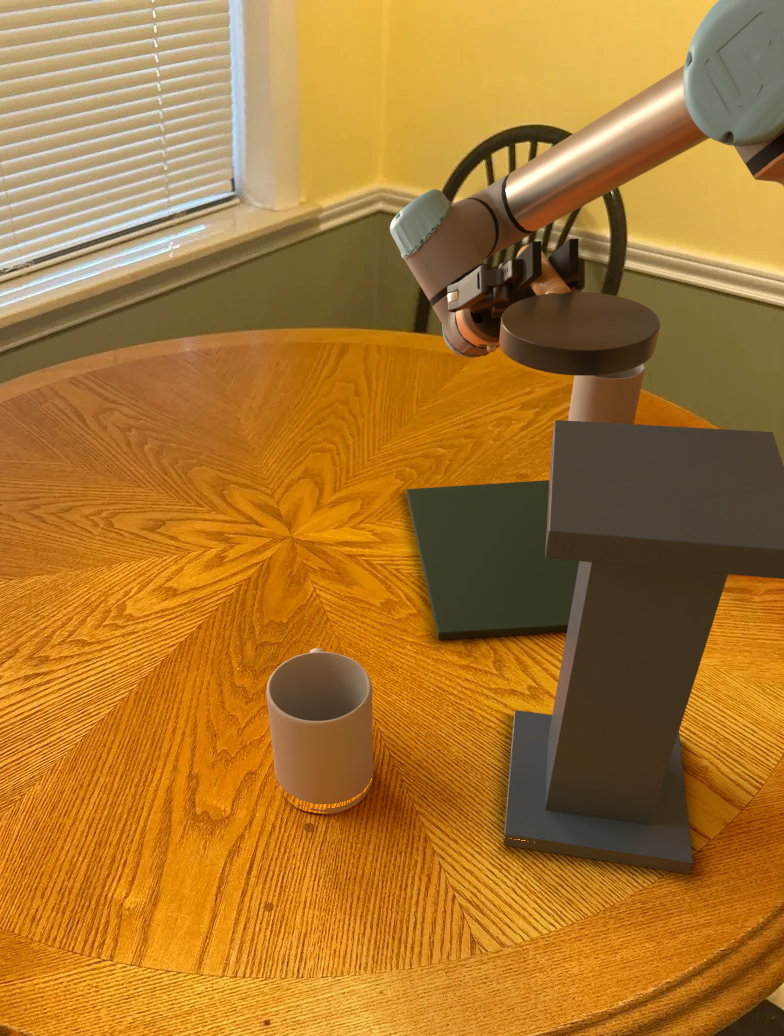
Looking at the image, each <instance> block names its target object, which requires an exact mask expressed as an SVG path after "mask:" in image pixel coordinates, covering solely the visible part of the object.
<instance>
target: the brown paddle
mask: <svg viewBox="0 0 784 1036" xmlns="http://www.w3.org/2000/svg"><path fill="white" fill-rule="evenodd" d="M528 245H529V244H526V245H523V246H522V247H521V248H520V249H519V250H518V252H517V254H516V258H517V257H518V256H519V255H520V254H521V253H522V251H523V250H524V249H525V248H526V247H527V246H528ZM541 254H542V275H541V276H540V277H539V278H537V279H536V280H535V281H534V282H532V283H531V284H530V286H531V287H532V289H533V290H534V292H535V293H536V295H537V296H533V297H529V298H526V299H523V300H520V301H518V302H516V303H514V304H512V305H511V306H509V307H508V308H507V309H506V310H505V311H504V313H503V314H502V317H501V327H500V338H499V344H500V347H499V348H500V349H501V351H502V352H503V354H505V356H507V357H508V358H509V359H510V360H512V361H513V362H516V363H518V364H519V365H522V366H523V367H526V368H530V369H533V370H536V371H541V372H544V373H550V374H555V375H564V376H592V375H605V374H612V373H618V372H622V371H626V370H629V369H632V368H635V367H637V366H640V365H641V364H645V363H647V362H648V361H649V360H650V359H652V357H653V355H654V354H655V351H656V348H657V344H658V338H659V333H660V329H661V321H660V318H659V316H658V315H657V313H656V312H654V311H653V310H652V309H651V308H649V307H648V306H646V305H644V304H642V303H640V302H637V301H635V300H632V299H630V298H625V297H621V296H619V295H613V294H608V293H601V292H591V291H581V292H571V290H570V289H569V288H568V286H567V285H566V283H565V282H564V281H563V279H562V278H561V277H560V275H559V274H558V272H557V271H556V270H555V268H554V267H553V266H552V264H551V263H550V262H549V259H548V258H547V256H546V254H545V253H544V252H543V250H541Z"/></svg>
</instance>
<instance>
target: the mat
mask: <svg viewBox="0 0 784 1036" xmlns="http://www.w3.org/2000/svg"><path fill="white" fill-rule="evenodd" d="M405 493H406V495H405V496H406V500H407V505H408V509H409V514H410V518H411V522H412V527H413V532H414V536H415V542H416V546H417V551H418V554H419V559H420V563H421V567H422V568H421V569H422V573H423V577H424V582H425V586H426V591H427V596H428V600H429V605H430V609H431V613H432V618H433V623H434V627H435V632H436V636H437V639H438V641H443V640H444V641H445V640H460V639H461V640H462V639H463V640H464V639H478V638H494V637H495V638H496V637H509V636H510V637H511V636H527V635H528V636H529V635H544V634H561V633H567V629H568V623H569V618H570V612H571V606H572V601H573V595H574V589H575V584H576V578H577V573H578V567H579V561H571V560H560V559H548V558H545V548H546V531H547V514H548V496H549V479H547V480H546V479H544V480H530V481H528V480H527V481H515V482H499V483H483V484H467V485H466V484H465V485H451V486H436V487H435V486H433V487H420V488H418V487H417V488H406V492H405Z"/></svg>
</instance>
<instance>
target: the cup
mask: <svg viewBox="0 0 784 1036" xmlns="http://www.w3.org/2000/svg"><path fill="white" fill-rule="evenodd" d="M645 370H646V366H645V363H643V364H641V365H640V366H637V367H635V368H632V369H629V370H626V371H622V372H618V373H612V374H605V375H592V376H575V375H573V384H572V390H571V397H570V402H569V403H570V404H569V411H568V416H567V421H582V422H600V423H619V424H635V420H636V415H637V411H638V405H639V401H640V395H641V390H642V386H643V380H644V376H645Z"/></svg>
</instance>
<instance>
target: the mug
mask: <svg viewBox="0 0 784 1036" xmlns="http://www.w3.org/2000/svg"><path fill="white" fill-rule="evenodd" d="M372 684H373V683H372V680H371V677H370V675H369V673H368V672H367V670H366V669H365V668H364V666H362V665H361V664H360V663H359V662H358V661H356V660H354V658H352V657H349V656H346V655H344V654H341V653H337V652H331V651H324V649H322V648H321V647H315V648H311V649H310V650H309V652H306V653H302V654H297V655H295V656H292V657H291V658H289V659H287V660H285V661H284V662H281V664H280V665H278V666H277V667H276V668H275V669H274V671H273V672H272V673H271V674H270V676H269V679H268V681H267V684H266V704H267V712H268V721H269V731H270V739H271V746H272V747H271V748H272V756H273V767H274V776H275V775H276V778H277V780H278V782H279V784H280V785H281V787H282V788H283V789H284V790H285V791H286V792H288V793H289V794H291V795H292V796H294V797H296V798H298V799H299V800H302V801H306V802H308V803H313V804H335V803H340V802H344V801H347V800H350V799H351V798H353V797H355V796H356V795H358V794H360V793H361V792H362V791H363V790H364V789H365V788H366V787H367V785H368V784H369V782H370V780H371V778H372V775H373V776H374V773H375V772H373V770H374V749H373V748H374V746H373V745H374V743H373V738H374V737H373V736H374V735H373V685H372ZM373 780H374V777H373V778H372V781H371V783H370V785H369V787H368V788H367V789H366V791H365V792H364V793H363V794H362V795H361V796H359V797H358V798H357V799H355V800H354V801H352V802H350V803H348V804H346V805H343V806H340V807H335V808H327V809H324V810H319V809H314V808H311V809H310V810H313V811H321V812H327V813H324V814H323V815H334V814H339V813H343V812H345V811H347V810H349V809H351V808H353V807H355V806H357V805H358V804H359V803H360V802H361V801H362V800H364V799H365V797H366V796H367V795H368V793H369V791H370V789H371V787H372V785H373ZM277 785H278V784H277V783H276V786H277ZM277 789H278V791H279V793H280V792H281V793H283V792H282V791H280V790H279V789H280V788H279V787H277ZM281 793H280V794H281ZM299 806H303V805H299ZM305 807H306V806H305Z"/></svg>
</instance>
